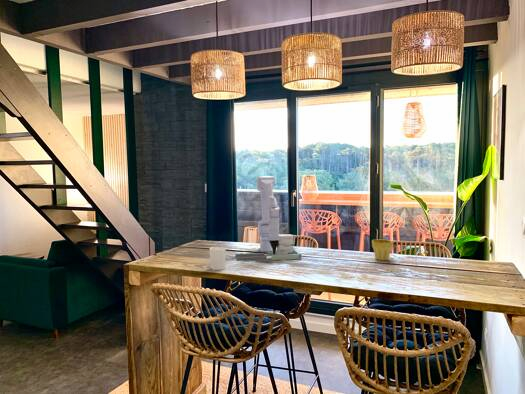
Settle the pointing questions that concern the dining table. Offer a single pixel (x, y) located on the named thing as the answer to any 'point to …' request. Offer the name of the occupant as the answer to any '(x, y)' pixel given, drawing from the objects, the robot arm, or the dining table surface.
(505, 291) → the dining table surface
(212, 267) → the white cup
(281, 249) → the ink box
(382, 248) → the plant pot
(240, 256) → the printer bay
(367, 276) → the dining table surface
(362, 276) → the dining table surface
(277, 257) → the tray
